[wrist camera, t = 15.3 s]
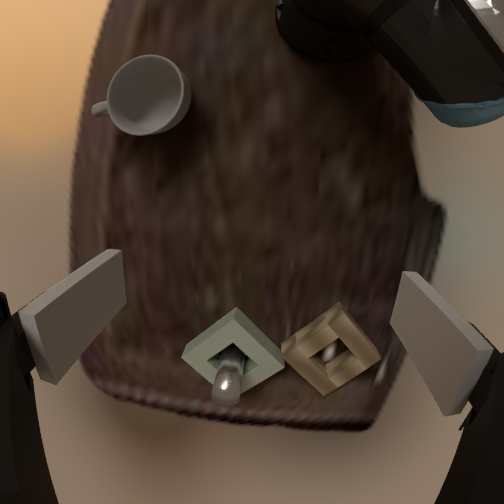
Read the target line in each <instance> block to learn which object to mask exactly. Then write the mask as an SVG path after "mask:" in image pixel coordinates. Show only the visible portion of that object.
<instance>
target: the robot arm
mask: <svg viewBox="0 0 504 504" xmlns="http://www.w3.org/2000/svg"><path fill="white" fill-rule="evenodd" d="M275 20H276V25H277V28H278V30H279V32H280V34H281V36H282V37H283V38H284V40H285V41H286V42H287V43H288V44H289V45H290V46H291V47H292V48H294V49H295V50H296V51H298V52H299V53H301V54H303V55H305V56H307V57H309V58H312V59H315V60H318V61H323V62H331V63H338V62H346V61H350V60H353V59H355V58H357V57H359V56H361V55H362V54H363V53H364V52H366V51H367V50H368V48H369V47H370V46H371V45H372V46H373V47H374V48H375V49H376V50H377V51H378V52H379V53H380V54H381V55H382V56H383V57H384V58H385V59H386V60H387V61H388V63H389V64H390V65H391V66H392V67H393V68H394V69H395V70H396V71H397V72H398V73H399V75H400V76H401V77H402V78H403V79H404V80H405V81H406V83H407V84H408V85H409V86H410V87H411V88H412V90H413V91H414V94H415V96H416V97H417V98H418V99H419V100H420V101H422V102H423V103H424V104H425V105H426V106H427V107H428V108H429V110H430V111H431V112H432V113H433V115H434V116H435V117H436V118H437V119H438V120H439V121H441V122H442V123H445V124H447V125H449V126H452V127H472V126H478V125H482V124H485V123H488V122H491V121H494V120H496V119H498V118H500V117H502V116H503V115H504V0H277V3H276V9H275ZM126 303H127V302H126V293H125V284H124V273H123V261H122V250H115V249H107V250H106V251H104V252H103V253H101V254H99V255H98V256H96V257H95V258H93V259H92V260H90V261H89V262H87V263H86V264H84V265H83V266H81V267H80V268H78V269H77V270H75V271H74V272H72V273H71V274H70V275H68V276H67V277H65V278H64V279H62V280H61V281H59V282H58V283H57V284H55V285H54V286H52V287H51V288H50V289H48V290H47V291H45V292H43V293H42V294H40V295H39V296H37V297H36V299H33V300H32V301H31V302H30V303H29V304H27V305H25V306H24V307H23V308H21V309H20V310H18V311H17V312H16V313H15V314H13V315H12V316H11V314H10V310H9V306H8V302H7V298H6V294H4V293H3V292H0V504H59V503H58V500H57V497H56V494H55V490H54V487H53V484H52V480H51V477H50V473H49V469H48V465H47V461H46V457H45V452H44V448H43V443H42V438H41V433H40V427H39V421H38V415H37V409H36V401H35V393H34V384H33V378H32V376H31V373H30V371H31V370H32V369H33V368H34V367H35V366H36V369H37V372H38V374H39V377H40V379H41V380H44V381H46V382H49V383H52V384H54V385H57V384H58V382H59V381H60V380H61V378H62V377H63V376H64V375H65V374H66V372H67V371H68V370H69V369H70V367H71V366H72V365H73V364H74V363H75V362H76V360H77V359H78V358H79V357H80V356H81V354H82V353H83V352H84V351H85V350H86V348H87V347H88V346H89V345H90V344H91V343H92V341H93V340H94V339H95V338H96V337H97V336H98V334H99V333H100V332H101V331H102V330H103V329H104V328H105V326H106V325H107V324H108V323H109V322H110V321H111V320H112V318H113V317H114V316H115V315H116V314H117V313H118V312H119V311H120V309H121V308H122V307H123V306H124V305H125V304H126ZM390 324H391V326H392V327H393V329H394V331H395V332H396V334H397V335H398V337H399V339H400V340H401V342H402V344H403V345H404V347H405V348H406V350H407V352H408V353H409V355H410V357H411V358H412V360H413V362H414V364H415V365H416V367H417V369H418V370H419V372H420V374H421V376H422V377H423V379H424V381H425V383H426V384H427V386H428V388H429V390H430V391H431V393H432V395H433V397H434V399H435V400H436V402H437V404H438V406H439V408H440V410H441V411H442V413H443V415H444V416H450V415H455V414H459V413H461V412H462V410H463V408H464V407H465V405H466V403H467V401H468V400H469V402H470V403H471V405H472V409H471V411H470V412H469V414H468V415H467V417H466V418H465V420H464V422H463V424H462V425H461V426H460V428H459V430H462V428H463V427H464V429H463V433H462V436H461V439H460V442H459V445H458V448H457V450H456V453H455V456H454V459H453V462H452V464H451V467H450V469H449V472H448V474H447V477H446V479H445V481H444V484H443V486H442V488H441V491H440V493H439V495H438V497H437V499H436V501H435V503H434V504H504V352H503V353H502V354H501V353H500V352H499V351H498V350H497V349H496V348H495V347H494V346H493V345H492V344H491V343H490V341H489V340H488V339H487V338H485V336H484V335H483V334H482V333H480V331H479V330H478V329H477V328H476V327H475V326H474V325H473V324H472V323H470V322H468V321H467V320H466V319H465V318H464V317H463V316H462V315H461V314H460V313H459V312H458V311H457V310H456V309H455V308H454V307H453V306H452V305H451V304H450V303H449V302H448V301H447V300H446V299H445V298H444V297H443V296H442V295H440V294H439V293H438V292H437V291H436V290H435V289H434V288H433V287H432V286H431V285H430V284H429V283H428V282H427V281H425V280H424V279H423V278H422V277H421V276H420V275H419V274H418V273H417V272H407V271H403V272H402V276H401V281H400V285H399V289H398V294H397V298H396V302H395V305H394V309H393V313H392V317H391V320H390Z"/></svg>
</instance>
